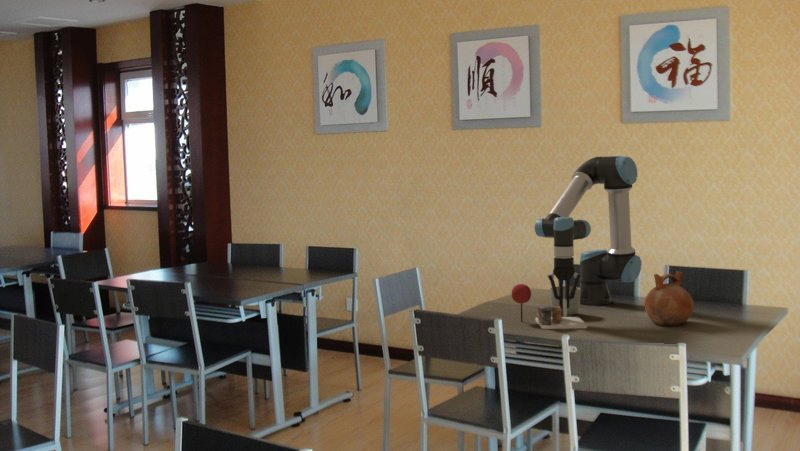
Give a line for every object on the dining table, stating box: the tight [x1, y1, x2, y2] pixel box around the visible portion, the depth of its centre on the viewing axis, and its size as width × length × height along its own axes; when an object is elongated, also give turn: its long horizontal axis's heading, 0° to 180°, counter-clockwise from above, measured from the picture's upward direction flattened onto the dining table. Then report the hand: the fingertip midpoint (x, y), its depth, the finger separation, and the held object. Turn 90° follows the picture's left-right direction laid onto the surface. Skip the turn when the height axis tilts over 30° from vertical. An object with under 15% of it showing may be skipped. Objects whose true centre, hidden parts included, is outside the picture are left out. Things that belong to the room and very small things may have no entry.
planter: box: [549, 285, 581, 317], centre depth 336 cm, size 12×12×11 cm
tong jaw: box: [539, 305, 562, 323], centre depth 317 cm, size 8×16×6 cm, turn 165°
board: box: [534, 316, 588, 330], centre depth 318 cm, size 17×16×1 cm
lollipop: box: [511, 283, 532, 322], centre depth 324 cm, size 8×8×15 cm
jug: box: [644, 271, 695, 327], centre depth 316 cm, size 18×18×20 cm
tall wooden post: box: [536, 306, 552, 325], centre depth 318 cm, size 4×15×6 cm, turn 0°
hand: (564, 316), depth 320 cm, fingers closed
